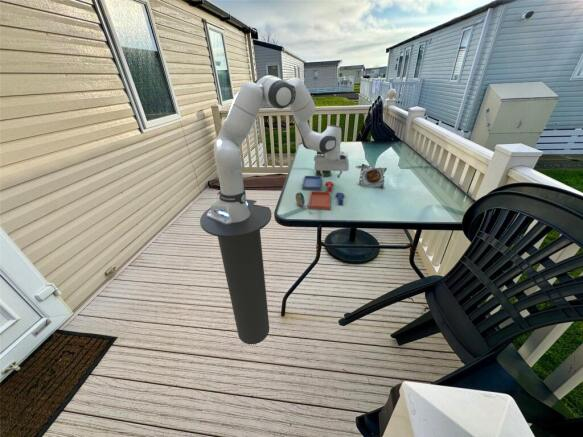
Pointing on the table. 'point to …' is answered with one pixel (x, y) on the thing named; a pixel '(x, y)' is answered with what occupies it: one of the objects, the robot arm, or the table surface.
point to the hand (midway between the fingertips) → (330, 177)
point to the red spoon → (329, 185)
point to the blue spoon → (340, 197)
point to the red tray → (319, 200)
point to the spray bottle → (326, 173)
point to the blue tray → (312, 182)
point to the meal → (372, 176)
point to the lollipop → (300, 199)
